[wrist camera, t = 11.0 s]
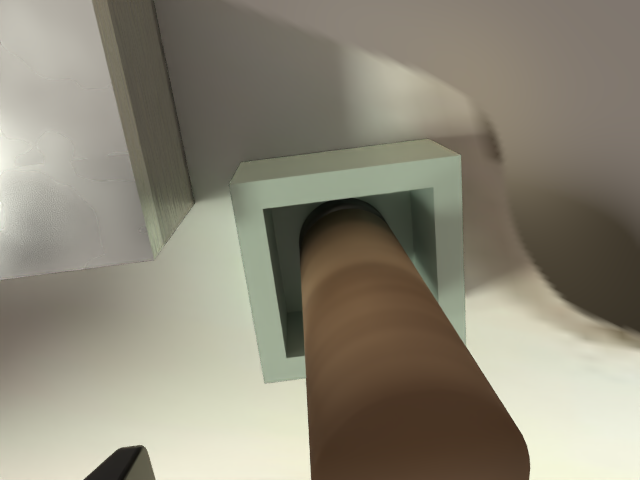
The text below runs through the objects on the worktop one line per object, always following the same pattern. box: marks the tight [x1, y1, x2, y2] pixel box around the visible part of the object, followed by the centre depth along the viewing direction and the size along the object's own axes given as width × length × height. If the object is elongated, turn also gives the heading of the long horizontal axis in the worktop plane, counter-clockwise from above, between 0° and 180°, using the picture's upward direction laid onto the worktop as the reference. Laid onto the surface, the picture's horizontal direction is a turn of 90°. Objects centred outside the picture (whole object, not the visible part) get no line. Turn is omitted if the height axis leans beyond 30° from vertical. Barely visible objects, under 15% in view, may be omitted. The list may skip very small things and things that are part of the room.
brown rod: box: [299, 198, 530, 480], centre depth 13 cm, size 3×3×11 cm
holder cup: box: [229, 139, 466, 384], centre depth 17 cm, size 6×6×4 cm
